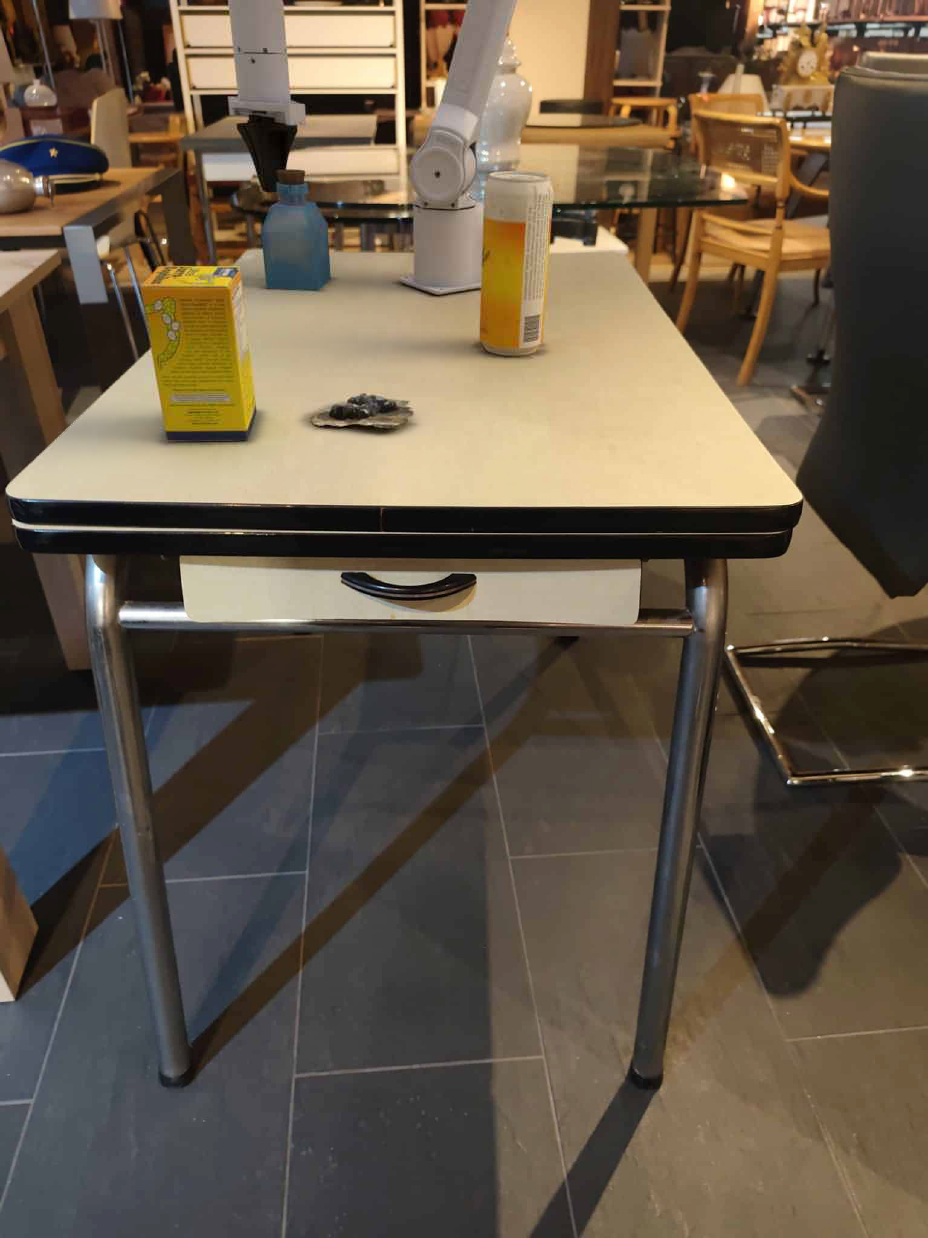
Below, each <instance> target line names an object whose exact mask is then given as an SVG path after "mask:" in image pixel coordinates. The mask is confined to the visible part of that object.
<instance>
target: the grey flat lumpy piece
mask: <svg viewBox="0 0 928 1238" xmlns="http://www.w3.org/2000/svg"><path fill="white" fill-rule="evenodd" d="M410 402H411V400H405V399H402V400H401V399H400V400H398V399H392V398H389V397H388V398H386V397H384V396H380V395H379V396H378V395H375V394H369V395H368V394H367V393H366V392H363V393H361V394H359V395H356V396H351V397H350V398H348V399H347V401H346V402H344V403H341V404H340V403H335V404H333V405H332V406H331V407H330V408H328V409H325V410H322V411H319V412H316V413H315V414H314V413H313V414H312V415H311V417H310V419H309V421H310V422H311V423H312V424H313V425H314V426H315V425H316V426H318V427H320V426H322V427H323V426H324V425H327V426H329V425H330V426H332V427H335V426H336V427H340V428H341V427H344V426H345V427H346V426H352V425H361V426H373V427H375V428H379V429H383V428H385V429H390V428H397V427H398V426H399V425H403V424H406V422H408V418H412V417H413V416H415V414H414V413H415V412H414V411H413V410H412V407H411V406H408V405H409V404H410Z"/></svg>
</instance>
